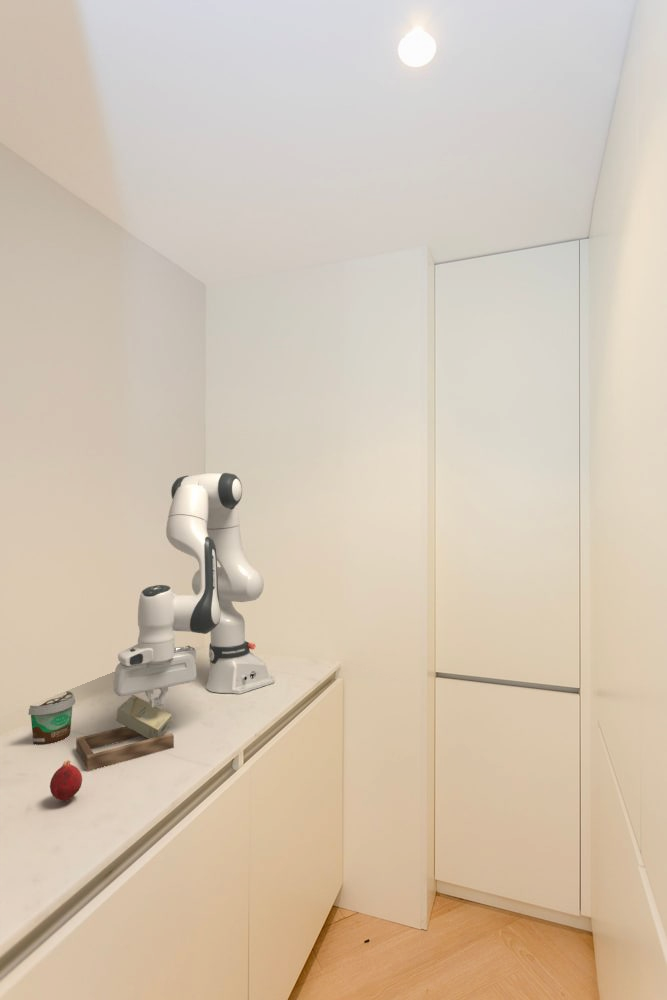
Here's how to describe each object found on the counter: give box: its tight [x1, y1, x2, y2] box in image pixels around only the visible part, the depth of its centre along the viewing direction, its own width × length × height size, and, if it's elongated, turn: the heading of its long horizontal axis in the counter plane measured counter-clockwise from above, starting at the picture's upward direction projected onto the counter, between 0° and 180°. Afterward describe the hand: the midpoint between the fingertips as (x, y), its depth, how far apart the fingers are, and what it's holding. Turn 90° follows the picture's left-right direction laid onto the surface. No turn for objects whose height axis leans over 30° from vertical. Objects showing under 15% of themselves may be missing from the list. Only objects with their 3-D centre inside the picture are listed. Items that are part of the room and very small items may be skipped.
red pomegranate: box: [49, 759, 83, 803], centre depth 108 cm, size 6×6×8 cm
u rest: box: [75, 725, 175, 772], centre depth 131 cm, size 20×13×3 cm, turn 126°
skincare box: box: [115, 694, 172, 739], centre depth 137 cm, size 6×4×12 cm
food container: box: [27, 690, 76, 746], centre depth 137 cm, size 12×6×10 cm, turn 160°
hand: (156, 705), depth 135 cm, fingers closed
